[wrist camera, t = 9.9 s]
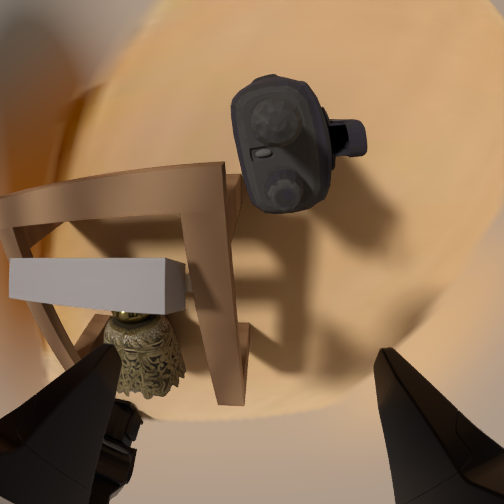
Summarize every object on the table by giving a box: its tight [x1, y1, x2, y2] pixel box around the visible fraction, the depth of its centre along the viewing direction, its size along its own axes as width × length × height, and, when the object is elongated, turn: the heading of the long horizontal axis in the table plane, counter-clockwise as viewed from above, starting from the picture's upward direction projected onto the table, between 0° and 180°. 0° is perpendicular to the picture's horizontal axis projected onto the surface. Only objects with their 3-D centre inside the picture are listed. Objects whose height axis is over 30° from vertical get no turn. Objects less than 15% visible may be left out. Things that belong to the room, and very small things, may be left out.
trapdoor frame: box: [0, 162, 250, 406], centre depth 19 cm, size 16×17×8 cm
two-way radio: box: [231, 74, 367, 214], centre depth 11 cm, size 6×4×15 cm
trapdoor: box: [9, 258, 193, 315], centre depth 17 cm, size 11×11×2 cm
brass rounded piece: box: [104, 311, 186, 399], centre depth 22 cm, size 8×7×8 cm
